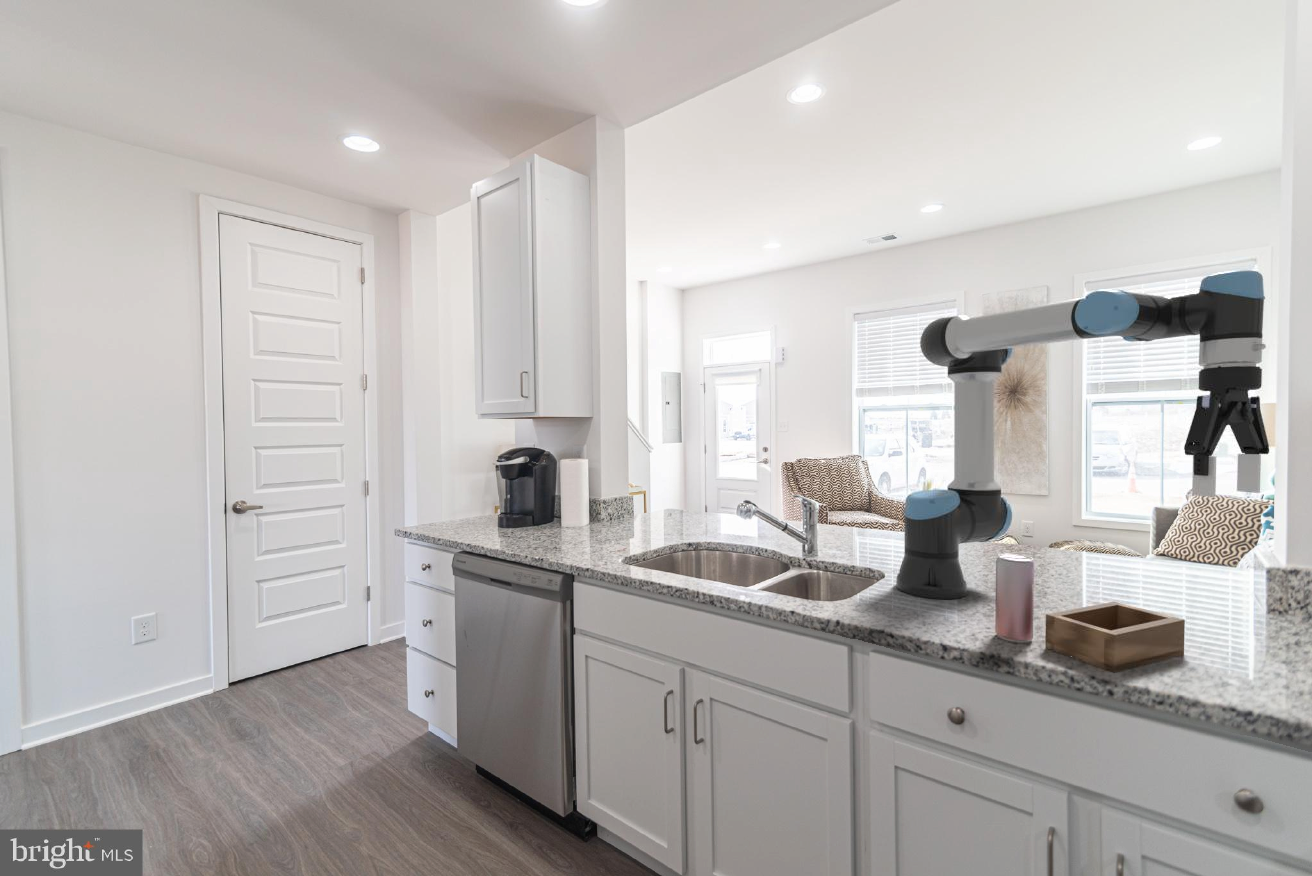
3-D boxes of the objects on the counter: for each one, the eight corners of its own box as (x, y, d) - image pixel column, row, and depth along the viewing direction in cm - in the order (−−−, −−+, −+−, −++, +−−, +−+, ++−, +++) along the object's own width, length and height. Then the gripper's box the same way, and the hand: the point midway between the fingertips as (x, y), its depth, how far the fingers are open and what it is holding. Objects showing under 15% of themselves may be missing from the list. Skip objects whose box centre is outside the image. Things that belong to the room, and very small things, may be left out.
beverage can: (994, 630, 112) (995, 552, 112) (1031, 635, 109) (1032, 555, 109) (996, 640, 107) (997, 558, 107) (1034, 646, 104) (1036, 562, 104)
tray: (1045, 648, 103) (1045, 614, 103) (1113, 633, 111) (1113, 601, 110) (1114, 672, 93) (1114, 635, 93) (1184, 654, 100) (1184, 619, 100)
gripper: (1216, 361, 90) (1213, 500, 90) (1298, 367, 99) (1295, 492, 100) (1158, 366, 96) (1156, 494, 97) (1240, 371, 106) (1237, 488, 107)
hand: (1226, 494), depth 98 cm, fingers open, 13 cm apart
